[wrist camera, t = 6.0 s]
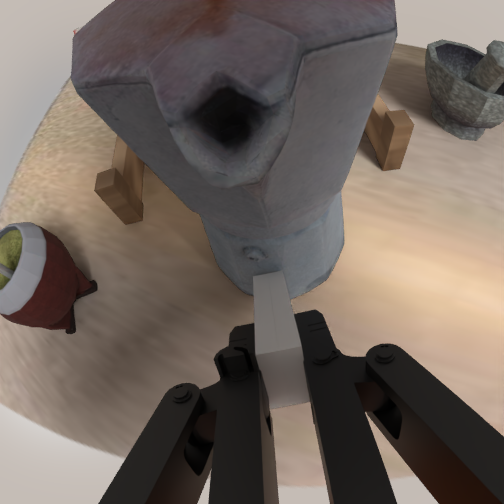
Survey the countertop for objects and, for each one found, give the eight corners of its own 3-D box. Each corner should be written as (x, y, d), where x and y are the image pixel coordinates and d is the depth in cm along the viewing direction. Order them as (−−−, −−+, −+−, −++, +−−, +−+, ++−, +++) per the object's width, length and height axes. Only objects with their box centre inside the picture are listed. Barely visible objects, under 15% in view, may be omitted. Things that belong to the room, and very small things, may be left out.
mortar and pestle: (414, 81, 28) (430, -11, 17) (486, 105, 25) (515, 22, 14) (418, 148, 24) (452, 31, 13) (504, 177, 21) (560, 82, 10)
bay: (399, 168, 23) (414, 124, 18) (125, 224, 24) (94, 190, 20) (333, 59, 30) (333, 23, 26) (140, 100, 32) (124, 68, 28)
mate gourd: (39, 274, 24) (-83, 187, 11) (105, 242, 24) (-18, 119, 11) (44, 353, 21) (-110, 291, 7) (118, 328, 21) (-57, 232, 7)
